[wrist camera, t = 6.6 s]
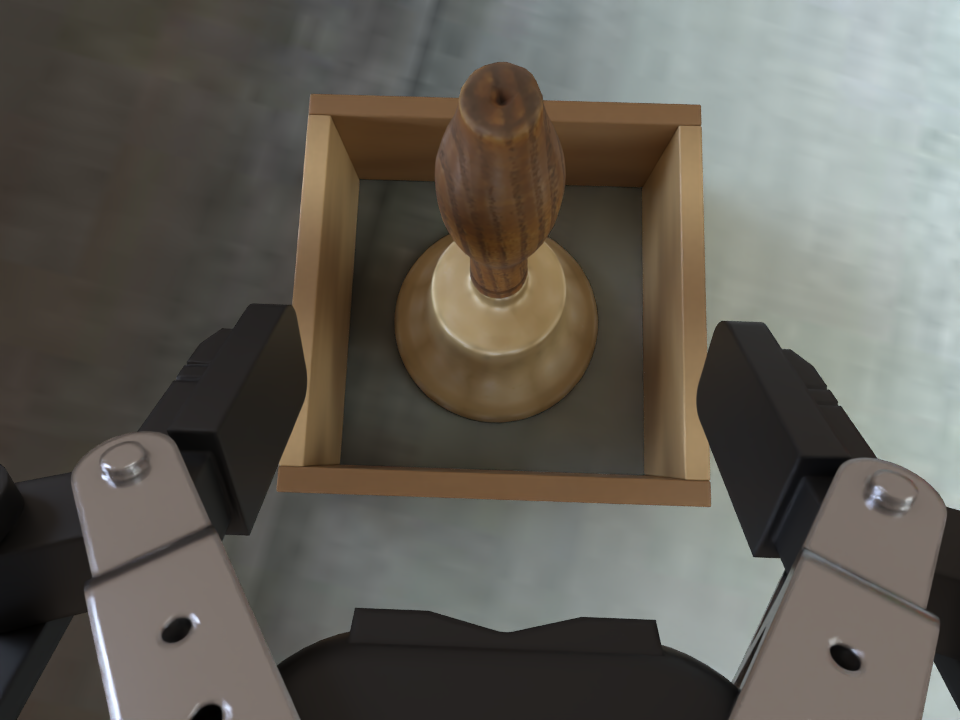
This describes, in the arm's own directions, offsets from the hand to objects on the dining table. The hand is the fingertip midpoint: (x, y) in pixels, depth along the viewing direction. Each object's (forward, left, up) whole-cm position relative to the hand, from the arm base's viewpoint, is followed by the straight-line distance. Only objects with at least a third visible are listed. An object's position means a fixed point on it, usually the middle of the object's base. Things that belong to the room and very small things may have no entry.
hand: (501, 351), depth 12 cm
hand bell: (+2, +3, -13) cm, 13 cm away
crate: (+2, +3, -13) cm, 13 cm away
